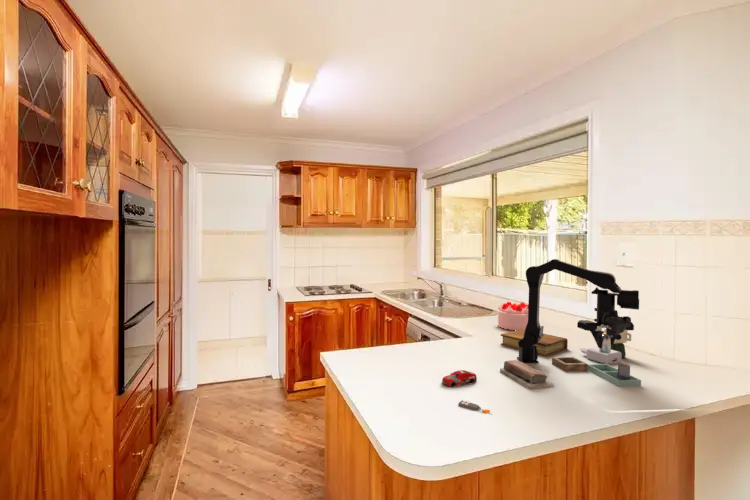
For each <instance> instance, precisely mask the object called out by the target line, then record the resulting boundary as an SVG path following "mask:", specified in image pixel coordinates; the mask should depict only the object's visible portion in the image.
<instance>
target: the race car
mask: <svg viewBox="0 0 750 500" xmlns="http://www.w3.org/2000/svg"><path fill="white" fill-rule="evenodd" d="M477 379H478V377H477V374H476V373H474V372H472V371H469V370H462V369H460V370H456V371H453V372H450V373H449V374H448V375H446V376H443V377H442V380H441V382H442V384H443V385H445V386H447V387H450V388H454V386H455V387H457V386H458V387H459V386H463V385H468V384H470V385H471V384H474V383H476V382H477V381H478V380H477Z"/></svg>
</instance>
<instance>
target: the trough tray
mask: <svg viewBox="0 0 750 500" xmlns="http://www.w3.org/2000/svg"><path fill="white" fill-rule="evenodd" d="M586 364H587V371H588V372H590V373H593V374H594V375H596V376H598V377H600V378H602V379H604V380H606V381H608V382H609V383H611V384H613V385H615V386H617V387H619V388H620V387H621V388H622V387H642V379H639V378H637V377H635V376H633V375H632V374H630V380H618V379H617V378H618V368H616V367H614V366H613V365H611V364H603V363H590V364H589V363H586Z"/></svg>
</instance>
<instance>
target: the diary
mask: <svg viewBox="0 0 750 500" xmlns="http://www.w3.org/2000/svg"><path fill="white" fill-rule="evenodd" d="M524 333H525V330H524V329H520V330H516V331H513V330H511V331H507V332H504V333H501V334H500V336H501V337H502V342H501V343H500V346H504V345H505V347H508V346H509V348H512V349H513V348H514V349H517V350H519V344H518V342H519V341H520V340H521V339H523V338H524ZM543 334H544V336H542V338H541V340H540V341H538V342H537V343H536V345H535V346H536V347H537V350H538V355H540V356H543V357H549V356H551V355H554V354H558V353H561V352H563V351H566V350H568V346H569V345H568V342H569V340H568V339H567V338H566V337H563V336H557V335H551V334H546V333H543Z"/></svg>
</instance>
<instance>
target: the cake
mask: <svg viewBox="0 0 750 500" xmlns="http://www.w3.org/2000/svg"><path fill="white" fill-rule="evenodd" d="M528 304H529V303H525V302H524V301H522V302H520V303H518V302H517V301H516V302H515V303H512V302H511V301H507V302H506V303H504V302H502V303H501V304H500V305H499V306H498V307H497V309H498V315H497V317H498V318H497V323H498V324H497V325H498V327H499V328H500V327H501V329H503V328H504V329H503V330H507V329H509V330H508V331H513V330H520V329H524V330H525V329H526V326H527V323H528Z"/></svg>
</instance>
